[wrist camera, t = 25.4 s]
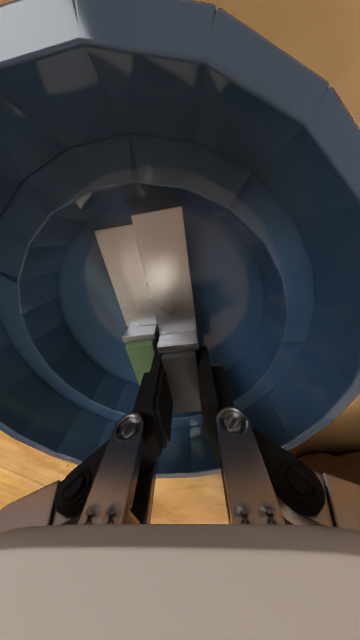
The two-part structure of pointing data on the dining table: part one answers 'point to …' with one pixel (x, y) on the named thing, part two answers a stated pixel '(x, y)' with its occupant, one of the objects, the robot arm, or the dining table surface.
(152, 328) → the green knife
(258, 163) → the bowl
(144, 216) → the black knife
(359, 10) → the dining table surface
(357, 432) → the dining table surface
